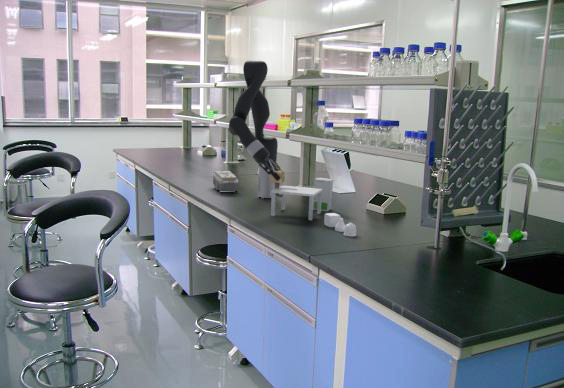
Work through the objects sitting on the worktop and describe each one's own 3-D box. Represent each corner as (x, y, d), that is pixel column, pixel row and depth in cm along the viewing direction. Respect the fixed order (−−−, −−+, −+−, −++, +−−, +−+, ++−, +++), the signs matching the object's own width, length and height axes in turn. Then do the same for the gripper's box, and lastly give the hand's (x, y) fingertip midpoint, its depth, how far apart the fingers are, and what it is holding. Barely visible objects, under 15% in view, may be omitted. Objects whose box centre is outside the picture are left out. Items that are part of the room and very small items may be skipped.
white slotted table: (282, 209, 250) (282, 185, 248) (321, 213, 243) (322, 189, 241) (270, 215, 235) (271, 190, 233) (311, 220, 228) (313, 194, 226)
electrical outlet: (228, 184, 312) (229, 168, 310) (241, 196, 286) (242, 179, 284) (210, 185, 308) (210, 169, 306) (221, 197, 282) (221, 179, 280)
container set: (323, 225, 221) (324, 213, 220) (334, 224, 223) (334, 212, 222) (347, 237, 203) (348, 224, 202) (358, 236, 205) (359, 223, 204)
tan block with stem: (273, 194, 245) (273, 170, 242) (284, 195, 243) (285, 171, 240) (268, 196, 239) (269, 171, 237) (280, 198, 237) (281, 172, 235)
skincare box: (312, 210, 250) (313, 179, 248) (315, 207, 257) (317, 177, 254) (328, 211, 248) (330, 180, 245) (331, 209, 254) (333, 178, 251)
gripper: (257, 147, 232) (281, 175, 231) (269, 145, 246) (291, 171, 244) (246, 158, 235) (270, 186, 233) (258, 155, 248) (280, 181, 247)
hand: (280, 178), depth 239 cm, fingers closed on tan block with stem, 5 cm apart
